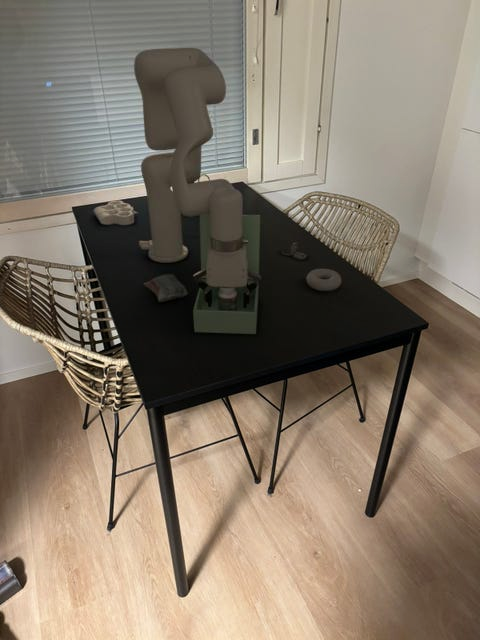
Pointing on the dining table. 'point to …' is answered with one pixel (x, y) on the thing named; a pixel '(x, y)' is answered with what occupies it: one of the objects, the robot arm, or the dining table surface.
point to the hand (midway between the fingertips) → (227, 304)
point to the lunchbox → (226, 313)
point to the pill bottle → (227, 299)
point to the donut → (323, 279)
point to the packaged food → (166, 287)
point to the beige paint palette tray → (115, 213)
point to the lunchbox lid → (249, 231)
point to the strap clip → (292, 252)
